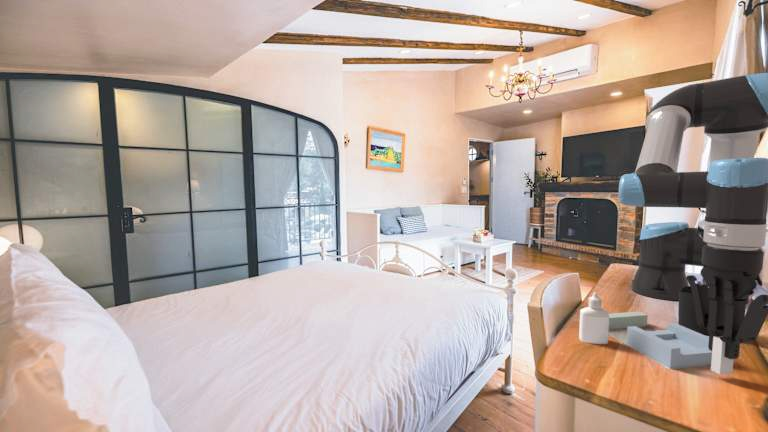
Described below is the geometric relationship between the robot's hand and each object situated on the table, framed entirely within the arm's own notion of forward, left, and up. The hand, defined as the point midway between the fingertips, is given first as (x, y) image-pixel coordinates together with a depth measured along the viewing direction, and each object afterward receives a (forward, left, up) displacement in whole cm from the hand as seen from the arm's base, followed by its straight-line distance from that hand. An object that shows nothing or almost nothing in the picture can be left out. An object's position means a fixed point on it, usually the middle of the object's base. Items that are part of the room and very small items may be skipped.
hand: (721, 371), depth 61 cm
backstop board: (0, -14, -2) cm, 14 cm away
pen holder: (-18, -18, -2) cm, 25 cm away
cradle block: (0, -9, -1) cm, 9 cm away
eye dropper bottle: (+12, -17, -2) cm, 21 cm away
